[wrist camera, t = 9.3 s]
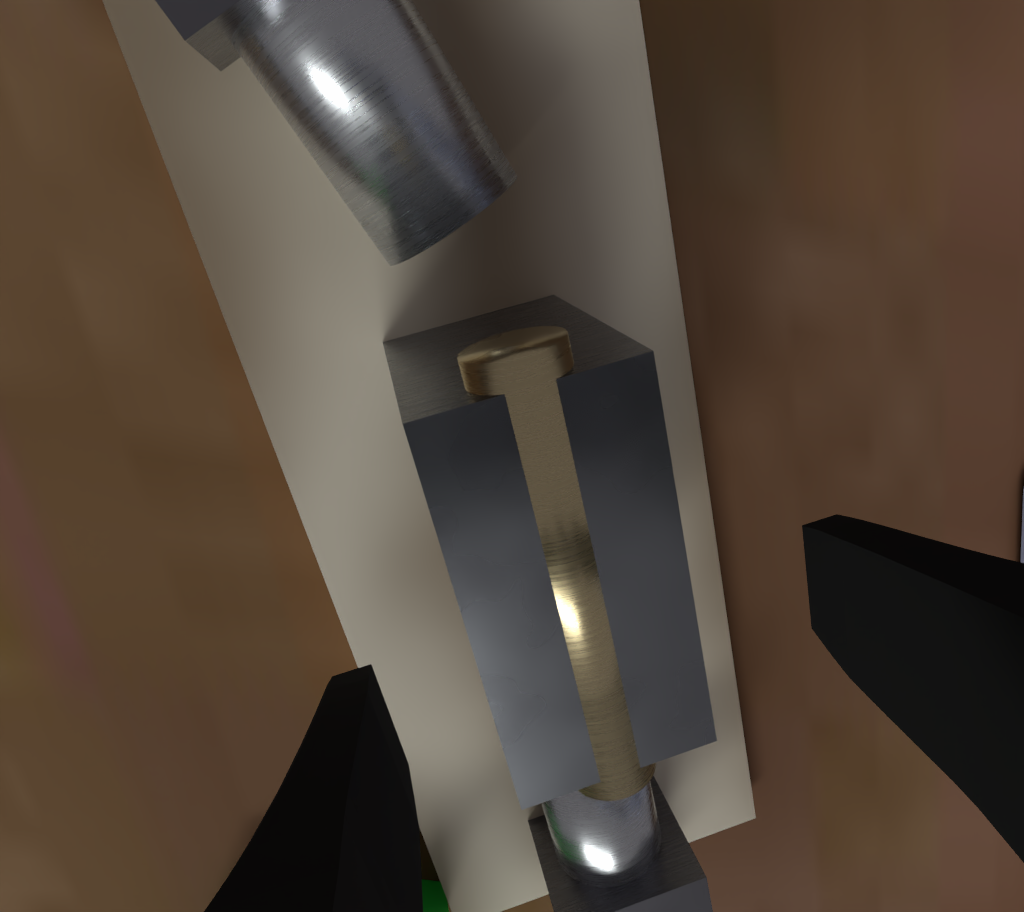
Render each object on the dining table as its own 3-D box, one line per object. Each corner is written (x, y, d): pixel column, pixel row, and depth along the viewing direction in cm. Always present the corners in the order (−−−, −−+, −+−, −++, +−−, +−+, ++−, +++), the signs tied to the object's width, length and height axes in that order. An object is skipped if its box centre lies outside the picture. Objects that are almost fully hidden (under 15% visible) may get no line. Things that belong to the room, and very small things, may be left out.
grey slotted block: (549, 272, 17) (650, 321, 11) (618, 602, 20) (722, 763, 15) (376, 320, 17) (393, 394, 11) (476, 648, 20) (528, 833, 14)
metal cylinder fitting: (492, 703, 21) (520, 803, 17) (629, 657, 21) (682, 746, 18) (551, 899, 24) (585, 1016, 20) (670, 856, 24) (722, 963, 21)
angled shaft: (520, 160, 16) (566, 157, 13) (366, 270, 16) (372, 295, 13) (268, -263, 13) (244, -412, 10) (80, -122, 13) (-9, -223, 10)
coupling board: (585, -263, 14) (598, -287, 14) (743, 799, 25) (755, 818, 24) (51, -159, 13) (33, -179, 13) (454, 904, 24) (457, 927, 23)
